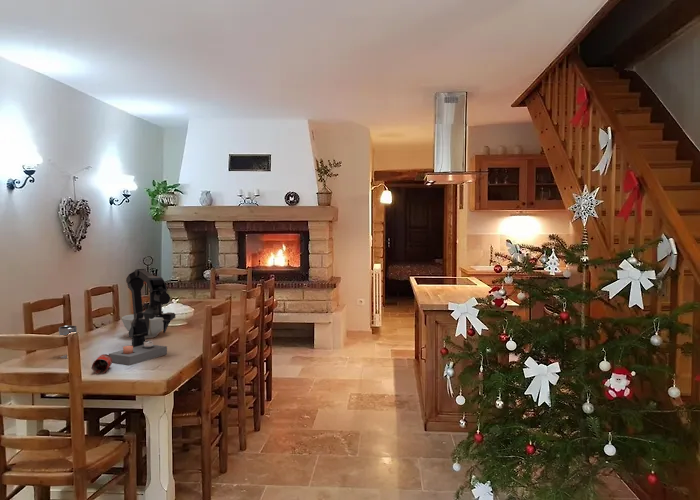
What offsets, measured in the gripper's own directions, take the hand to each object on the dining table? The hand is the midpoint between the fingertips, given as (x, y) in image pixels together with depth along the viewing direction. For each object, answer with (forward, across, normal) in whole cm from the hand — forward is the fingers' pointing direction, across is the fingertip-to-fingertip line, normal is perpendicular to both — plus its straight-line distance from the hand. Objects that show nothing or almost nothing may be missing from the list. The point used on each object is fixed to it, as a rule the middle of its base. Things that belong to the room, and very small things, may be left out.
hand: (155, 332), depth 273 cm
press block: (+11, -5, -8) cm, 15 cm away
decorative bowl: (+13, -28, +42) cm, 52 cm away
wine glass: (+12, -41, -11) cm, 44 cm away
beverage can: (+12, -8, -32) cm, 35 cm away
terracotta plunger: (+8, -7, -15) cm, 18 cm away
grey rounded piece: (+9, -3, -2) cm, 9 cm away
